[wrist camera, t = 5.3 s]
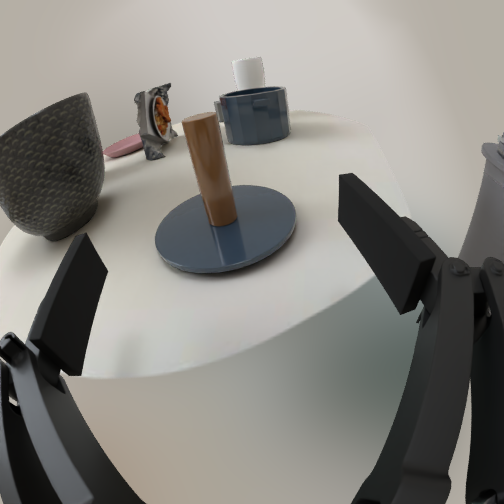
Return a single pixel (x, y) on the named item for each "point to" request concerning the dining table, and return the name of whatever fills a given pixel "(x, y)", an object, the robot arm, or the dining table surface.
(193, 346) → the dining table surface
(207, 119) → the lid
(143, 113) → the meal
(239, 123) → the pot
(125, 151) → the plate
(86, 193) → the planter
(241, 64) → the drinking glass
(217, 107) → the dice cube
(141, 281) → the dining table surface
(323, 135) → the dining table surface
